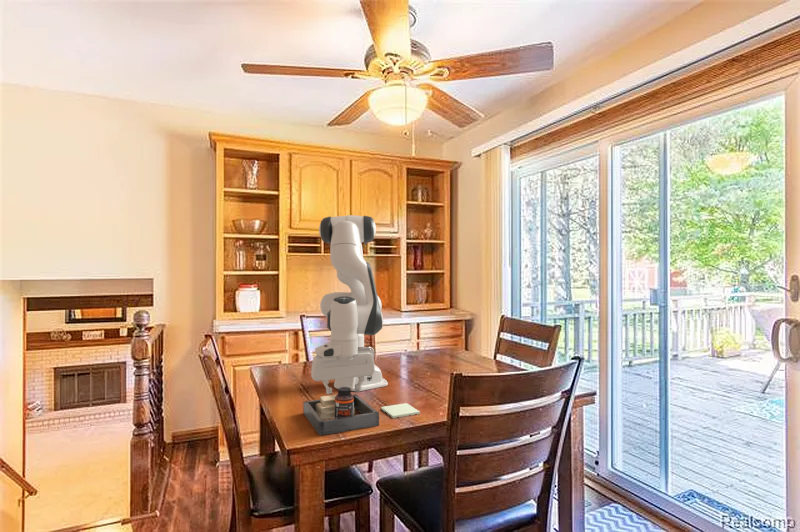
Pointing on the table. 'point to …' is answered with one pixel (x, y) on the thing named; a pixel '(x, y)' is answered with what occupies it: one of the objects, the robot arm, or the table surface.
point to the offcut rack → (330, 426)
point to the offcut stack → (327, 407)
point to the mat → (400, 410)
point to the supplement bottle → (344, 402)
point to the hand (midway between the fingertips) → (343, 392)
